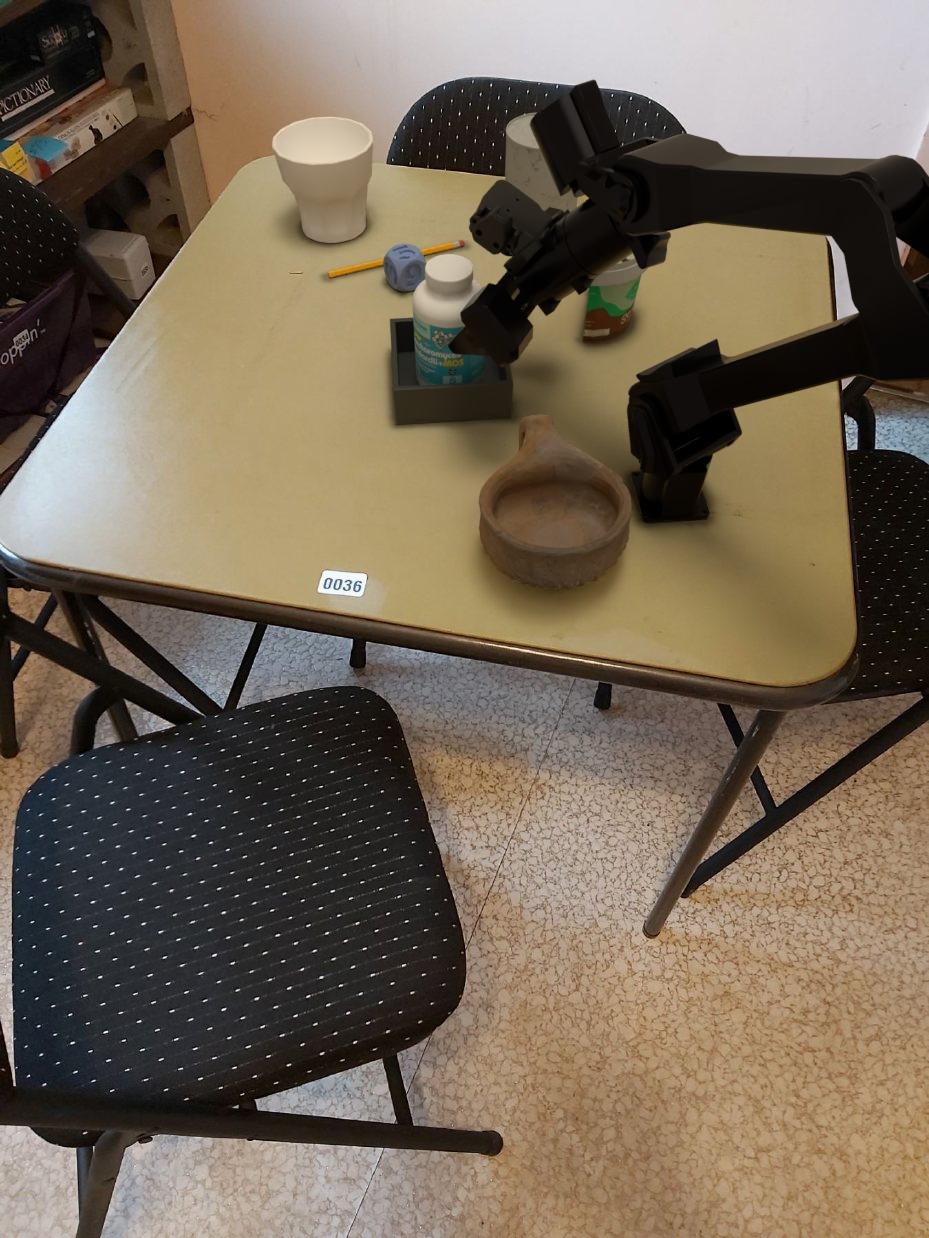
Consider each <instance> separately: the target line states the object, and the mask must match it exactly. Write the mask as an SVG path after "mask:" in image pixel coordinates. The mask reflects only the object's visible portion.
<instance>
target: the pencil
mask: <svg viewBox="0 0 929 1238" xmlns="http://www.w3.org/2000/svg"><path fill="white" fill-rule="evenodd" d="M463 247H465V241H464V240H463V239H460V240H456V241H452V242H448V243H444V244H440V245H435V246H430V247H426V248H423V249H420V250H421V252H422V253H423V255H424V257H425V256H429V255H433V254H437V253H442V252H446V251H450V250H454V249H458V248H463ZM383 260H384V258H381V259H375V260H372V261H367V262H364V263H360V264H359V263H358V264H355V265H351V266H346V267H343V268H338V269H334V270H330V271H327V276H328V278H329V279H333V278H337V277H341V276H345V275H350V274H355V273H359V272H362V271H367V270H371V269H374V268H379V267H383Z"/></svg>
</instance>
